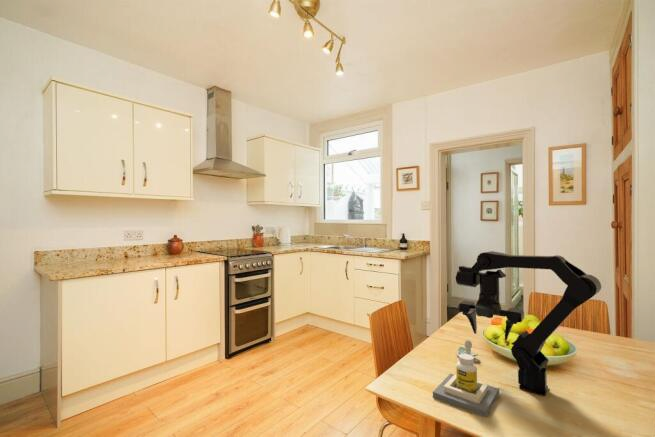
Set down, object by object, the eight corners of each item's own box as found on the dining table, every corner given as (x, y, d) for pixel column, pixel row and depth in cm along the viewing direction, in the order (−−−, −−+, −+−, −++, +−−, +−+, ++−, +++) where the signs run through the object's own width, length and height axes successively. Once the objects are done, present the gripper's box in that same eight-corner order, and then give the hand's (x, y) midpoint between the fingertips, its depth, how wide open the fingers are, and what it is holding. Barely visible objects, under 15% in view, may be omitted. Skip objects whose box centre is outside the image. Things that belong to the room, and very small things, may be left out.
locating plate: (499, 393, 89) (499, 383, 89) (486, 417, 79) (485, 405, 79) (450, 378, 98) (450, 368, 98) (432, 397, 88) (432, 386, 88)
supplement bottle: (455, 392, 87) (455, 358, 87) (457, 383, 92) (456, 351, 92) (476, 397, 85) (476, 362, 85) (477, 388, 90) (476, 354, 90)
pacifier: (467, 363, 109) (480, 360, 111) (467, 346, 109) (479, 343, 111) (452, 355, 116) (464, 352, 118) (451, 338, 116) (464, 336, 118)
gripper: (452, 289, 102) (453, 337, 101) (517, 298, 89) (518, 352, 89) (463, 284, 110) (463, 328, 110) (524, 291, 98) (524, 340, 98)
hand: (490, 336), depth 101 cm, fingers open, 9 cm apart
